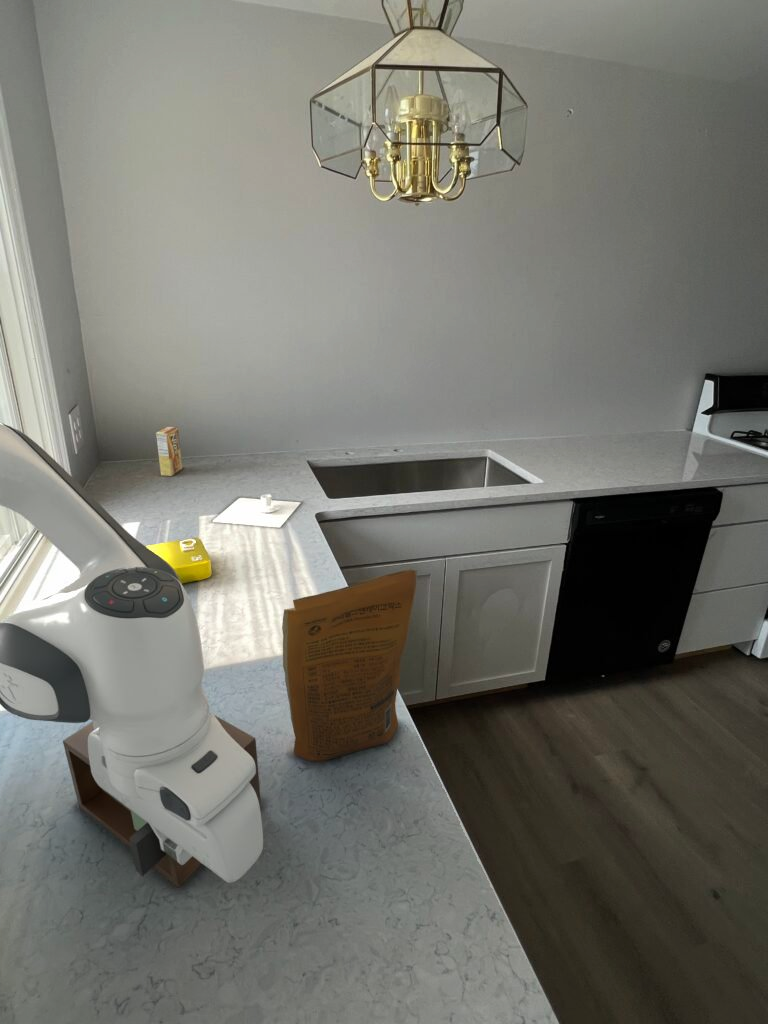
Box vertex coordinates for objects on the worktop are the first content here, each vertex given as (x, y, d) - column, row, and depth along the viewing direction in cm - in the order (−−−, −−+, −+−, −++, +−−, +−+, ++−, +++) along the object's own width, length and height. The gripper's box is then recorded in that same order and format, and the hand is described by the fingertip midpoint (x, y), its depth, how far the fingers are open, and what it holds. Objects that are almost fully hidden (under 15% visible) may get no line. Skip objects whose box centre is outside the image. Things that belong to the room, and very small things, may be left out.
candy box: (171, 468, 201) (166, 426, 196) (183, 468, 201) (178, 427, 195) (160, 475, 193) (155, 432, 188) (172, 476, 193) (167, 433, 187)
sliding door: (149, 894, 60) (138, 837, 57) (103, 855, 64) (90, 800, 61) (184, 860, 63) (175, 805, 60) (138, 825, 67) (128, 771, 64)
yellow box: (136, 563, 133) (133, 545, 131) (201, 551, 139) (199, 534, 137) (143, 592, 120) (139, 572, 119) (213, 578, 127) (211, 559, 125)
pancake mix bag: (418, 744, 82) (429, 576, 72) (291, 781, 75) (282, 602, 65) (400, 713, 88) (407, 554, 77) (280, 745, 81) (271, 576, 71)
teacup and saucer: (274, 515, 162) (273, 502, 160) (248, 513, 163) (247, 500, 162) (284, 505, 170) (283, 492, 169) (259, 503, 171) (258, 490, 170)
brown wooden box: (178, 888, 62) (166, 816, 58) (78, 807, 71) (62, 740, 67) (260, 803, 72) (255, 737, 68) (164, 742, 81) (154, 681, 77)
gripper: (58, 718, 52) (85, 825, 57) (212, 825, 42) (227, 942, 47) (120, 681, 57) (139, 782, 62) (270, 768, 47) (278, 880, 52)
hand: (178, 852), depth 54 cm, fingers closed
